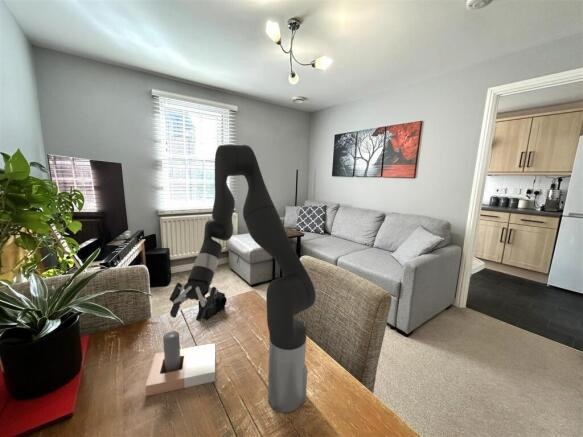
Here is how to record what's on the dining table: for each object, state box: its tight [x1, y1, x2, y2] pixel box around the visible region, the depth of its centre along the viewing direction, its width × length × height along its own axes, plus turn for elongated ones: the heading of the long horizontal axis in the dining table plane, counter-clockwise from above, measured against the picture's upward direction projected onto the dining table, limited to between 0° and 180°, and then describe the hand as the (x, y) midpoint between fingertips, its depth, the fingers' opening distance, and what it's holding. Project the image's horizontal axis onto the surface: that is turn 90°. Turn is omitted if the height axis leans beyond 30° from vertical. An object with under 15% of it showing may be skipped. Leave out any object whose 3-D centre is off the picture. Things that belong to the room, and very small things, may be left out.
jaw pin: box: [162, 330, 182, 373], centre depth 69 cm, size 4×4×12 cm
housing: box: [145, 343, 216, 397], centre depth 70 cm, size 17×12×3 cm
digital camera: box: [198, 291, 228, 321], centre depth 100 cm, size 10×5×7 cm, turn 151°
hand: (185, 318), depth 74 cm, fingers open, 8 cm apart
